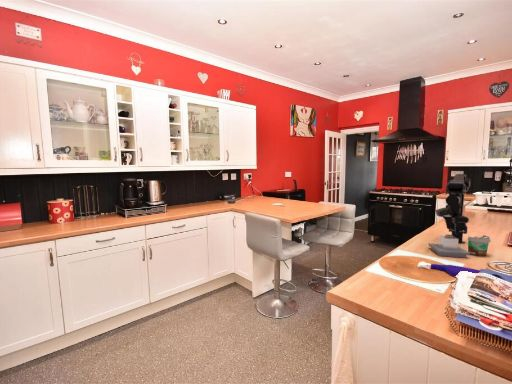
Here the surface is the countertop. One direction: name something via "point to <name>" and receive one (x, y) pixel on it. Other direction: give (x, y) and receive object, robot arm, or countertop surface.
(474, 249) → the food container
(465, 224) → the robot arm
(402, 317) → the countertop surface
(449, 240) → the housing
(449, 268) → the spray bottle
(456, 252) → the stand
